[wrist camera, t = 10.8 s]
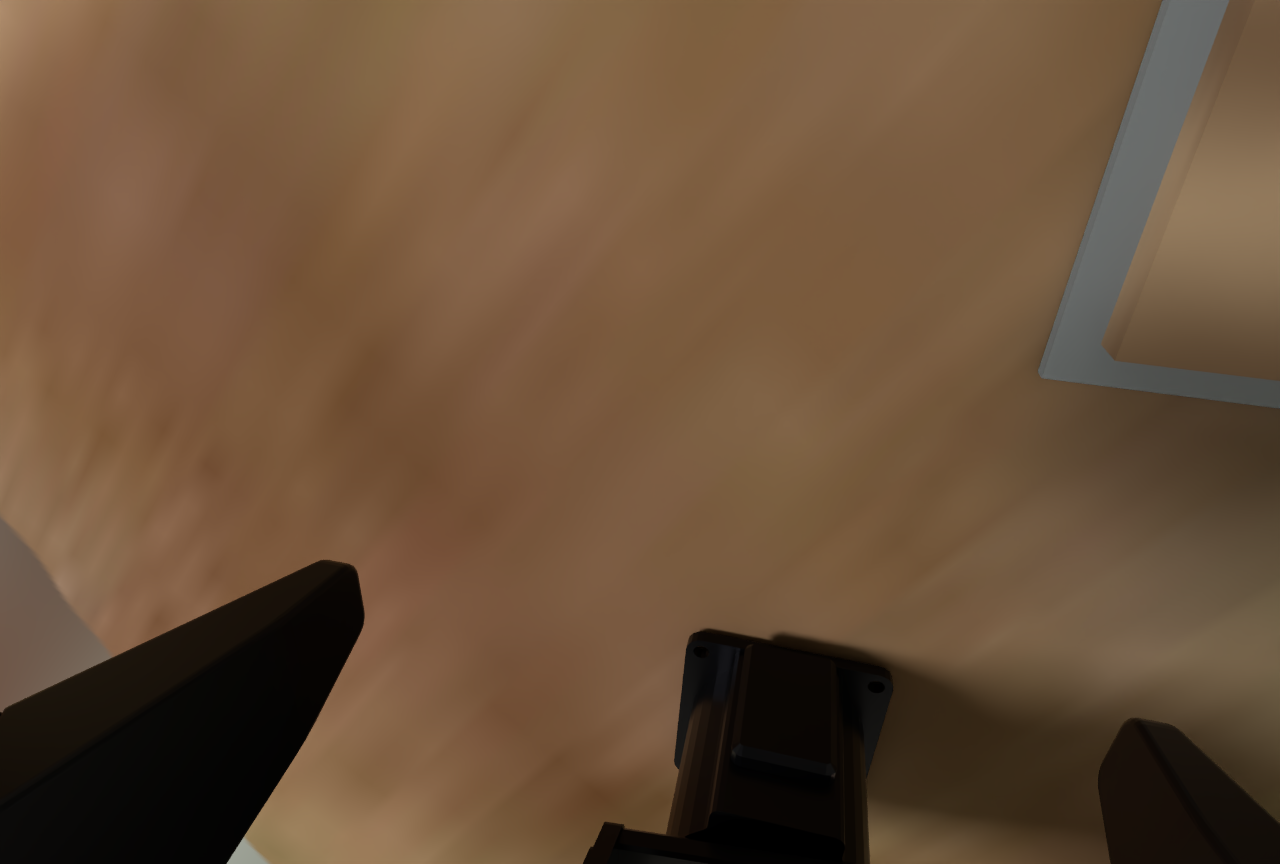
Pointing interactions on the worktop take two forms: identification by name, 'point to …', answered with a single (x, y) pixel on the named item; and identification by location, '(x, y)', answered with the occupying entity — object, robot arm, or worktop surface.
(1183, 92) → the mat
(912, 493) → the worktop surface
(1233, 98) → the lid
